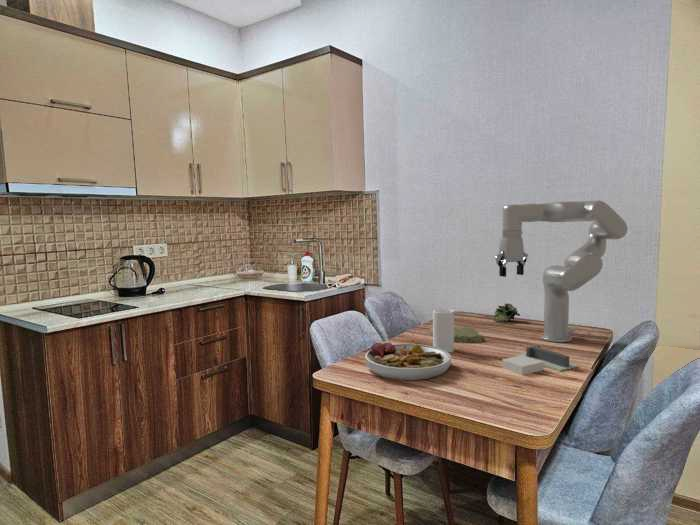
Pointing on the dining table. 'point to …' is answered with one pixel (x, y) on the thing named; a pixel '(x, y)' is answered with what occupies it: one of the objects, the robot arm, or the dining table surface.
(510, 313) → the green leafy plant
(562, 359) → the grey t-shaped block
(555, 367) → the mat
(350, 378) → the dining table surface
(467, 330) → the decorative tile
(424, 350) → the bowl
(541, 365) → the tile
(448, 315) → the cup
